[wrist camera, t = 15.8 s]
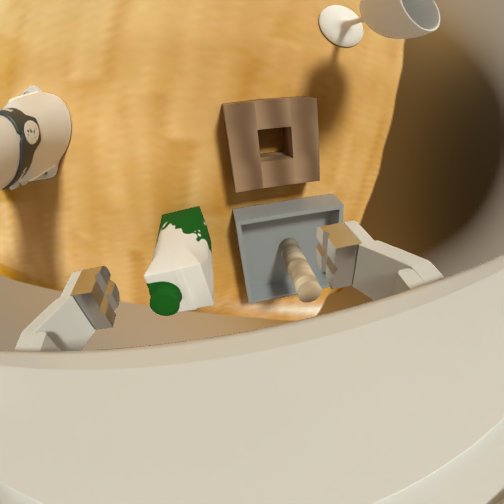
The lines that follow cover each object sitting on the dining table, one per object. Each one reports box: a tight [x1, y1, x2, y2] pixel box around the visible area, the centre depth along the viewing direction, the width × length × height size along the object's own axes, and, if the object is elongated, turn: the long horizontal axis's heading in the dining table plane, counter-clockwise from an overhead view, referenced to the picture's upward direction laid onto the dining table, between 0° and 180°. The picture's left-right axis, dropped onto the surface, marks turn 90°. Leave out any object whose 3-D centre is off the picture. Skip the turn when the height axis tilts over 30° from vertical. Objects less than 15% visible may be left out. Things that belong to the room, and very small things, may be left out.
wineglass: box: [319, 0, 440, 47], centre depth 23 cm, size 9×9×21 cm
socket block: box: [222, 96, 320, 193], centre depth 41 cm, size 14×14×5 cm
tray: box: [233, 194, 344, 304], centre depth 54 cm, size 20×20×5 cm
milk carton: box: [144, 206, 214, 316], centre depth 42 cm, size 9×9×20 cm
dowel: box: [279, 238, 322, 302], centre depth 49 cm, size 4×4×14 cm
